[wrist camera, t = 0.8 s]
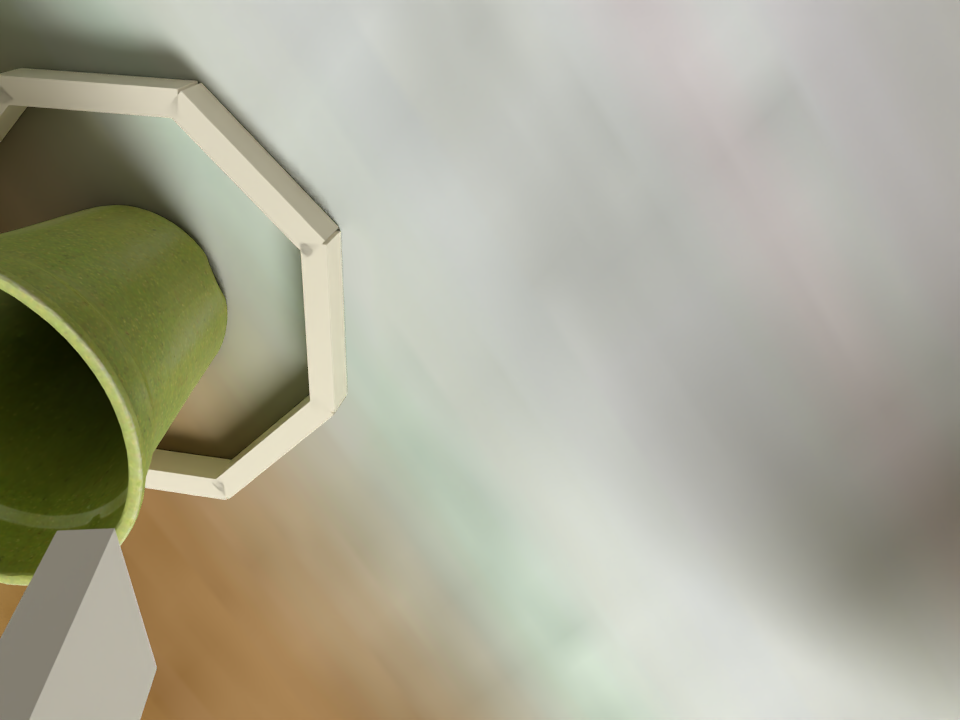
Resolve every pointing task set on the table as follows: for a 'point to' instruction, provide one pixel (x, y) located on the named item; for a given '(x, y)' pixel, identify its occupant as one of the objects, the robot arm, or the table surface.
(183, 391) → the plant pot
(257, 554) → the table surface
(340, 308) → the collar ring
